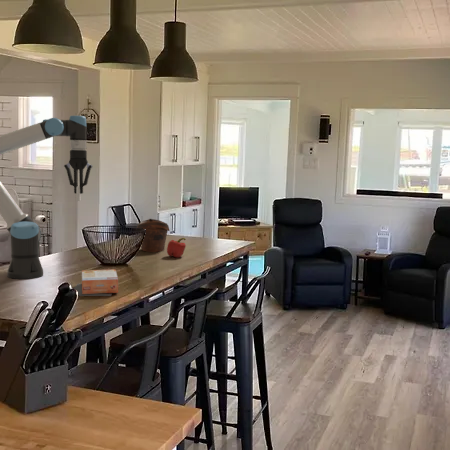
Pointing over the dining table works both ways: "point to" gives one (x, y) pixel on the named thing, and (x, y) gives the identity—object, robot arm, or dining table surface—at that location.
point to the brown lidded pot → (154, 235)
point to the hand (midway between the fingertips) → (78, 200)
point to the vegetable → (176, 248)
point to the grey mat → (79, 289)
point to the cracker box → (99, 281)
